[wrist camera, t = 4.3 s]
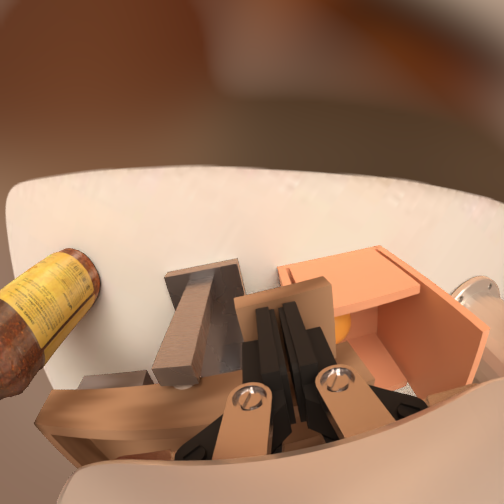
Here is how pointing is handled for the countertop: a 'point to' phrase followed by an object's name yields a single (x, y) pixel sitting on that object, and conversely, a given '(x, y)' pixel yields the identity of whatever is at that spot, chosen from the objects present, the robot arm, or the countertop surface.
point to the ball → (342, 327)
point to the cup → (399, 320)
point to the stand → (201, 324)
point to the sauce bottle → (42, 314)
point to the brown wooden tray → (180, 392)
